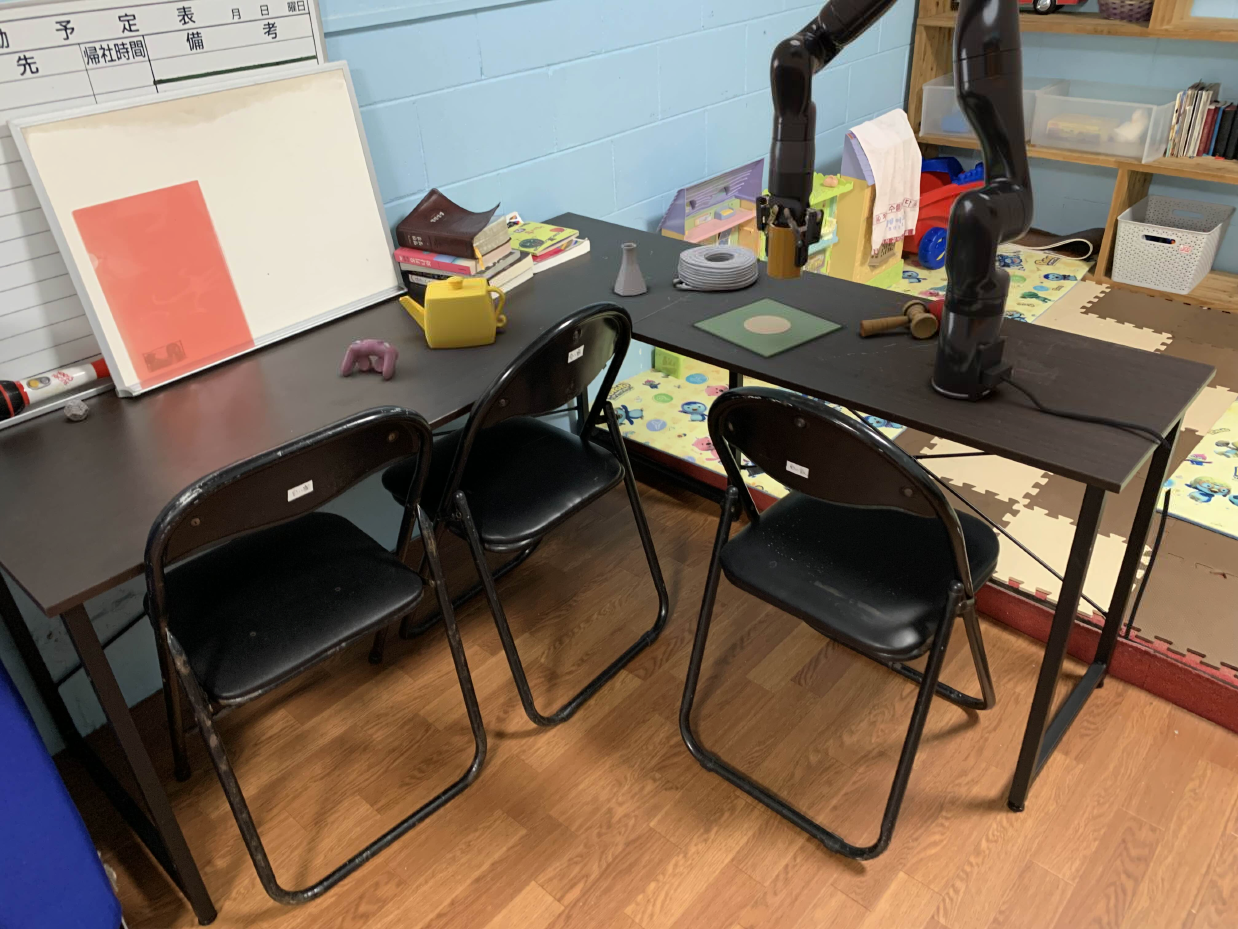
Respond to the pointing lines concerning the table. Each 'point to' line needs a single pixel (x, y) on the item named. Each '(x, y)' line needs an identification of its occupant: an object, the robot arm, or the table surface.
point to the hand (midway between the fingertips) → (785, 260)
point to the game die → (76, 410)
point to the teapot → (458, 312)
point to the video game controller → (361, 354)
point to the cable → (717, 268)
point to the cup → (782, 252)
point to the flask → (630, 273)
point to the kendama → (909, 319)
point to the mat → (767, 327)
